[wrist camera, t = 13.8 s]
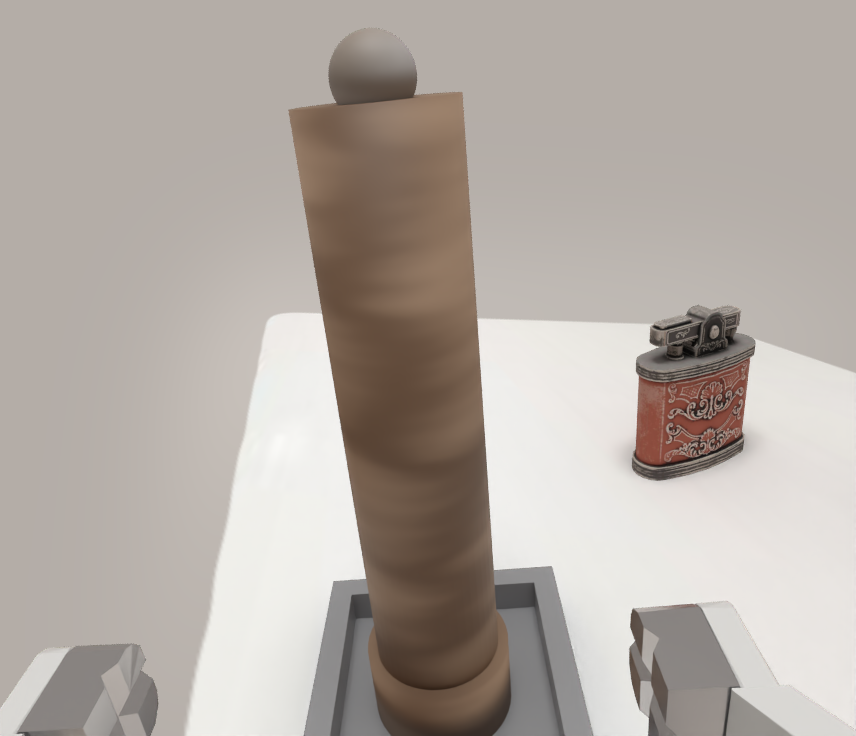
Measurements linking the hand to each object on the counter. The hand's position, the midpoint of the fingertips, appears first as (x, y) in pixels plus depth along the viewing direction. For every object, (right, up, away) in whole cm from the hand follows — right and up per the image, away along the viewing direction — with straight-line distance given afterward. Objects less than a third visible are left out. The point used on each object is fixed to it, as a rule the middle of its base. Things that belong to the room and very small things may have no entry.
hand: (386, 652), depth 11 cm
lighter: (+18, -1, +32) cm, 36 cm away
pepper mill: (+1, -9, +17) cm, 19 cm away
